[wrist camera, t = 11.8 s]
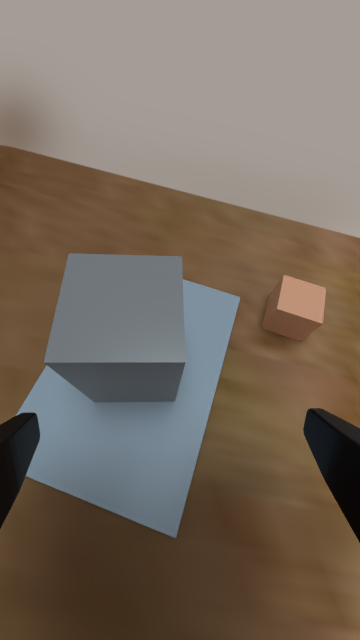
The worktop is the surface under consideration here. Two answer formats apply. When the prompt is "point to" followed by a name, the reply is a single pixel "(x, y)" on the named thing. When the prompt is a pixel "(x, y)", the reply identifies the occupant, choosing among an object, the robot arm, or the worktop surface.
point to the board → (135, 427)
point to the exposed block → (294, 308)
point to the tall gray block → (120, 327)
